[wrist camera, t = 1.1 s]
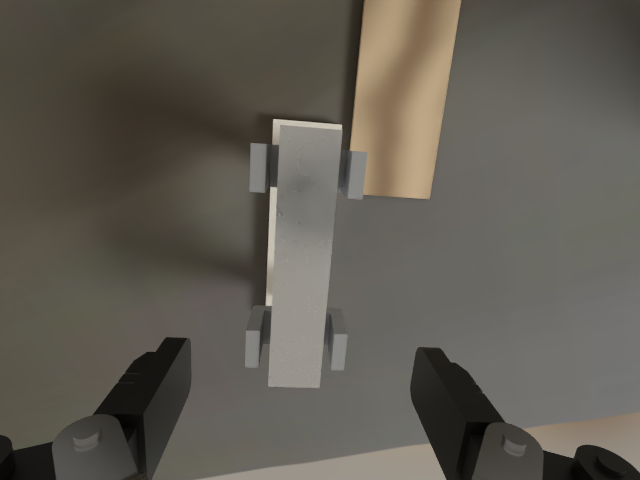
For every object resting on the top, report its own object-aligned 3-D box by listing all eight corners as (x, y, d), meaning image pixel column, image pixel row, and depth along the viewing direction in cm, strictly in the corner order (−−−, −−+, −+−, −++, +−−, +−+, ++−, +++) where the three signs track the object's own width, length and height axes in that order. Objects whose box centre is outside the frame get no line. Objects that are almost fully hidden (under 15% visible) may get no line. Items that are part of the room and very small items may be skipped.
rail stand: (345, 125, 31) (371, 114, 20) (327, 316, 36) (340, 395, 25) (269, 119, 31) (251, 103, 19) (262, 313, 36) (244, 393, 24)
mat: (463, -31, 29) (466, -34, 28) (427, 198, 34) (429, 199, 33) (367, -42, 28) (369, -46, 28) (345, 192, 33) (346, 193, 33)
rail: (336, 132, 23) (342, 129, 20) (316, 358, 27) (319, 388, 24) (282, 127, 23) (279, 124, 19) (272, 356, 27) (268, 386, 24)
